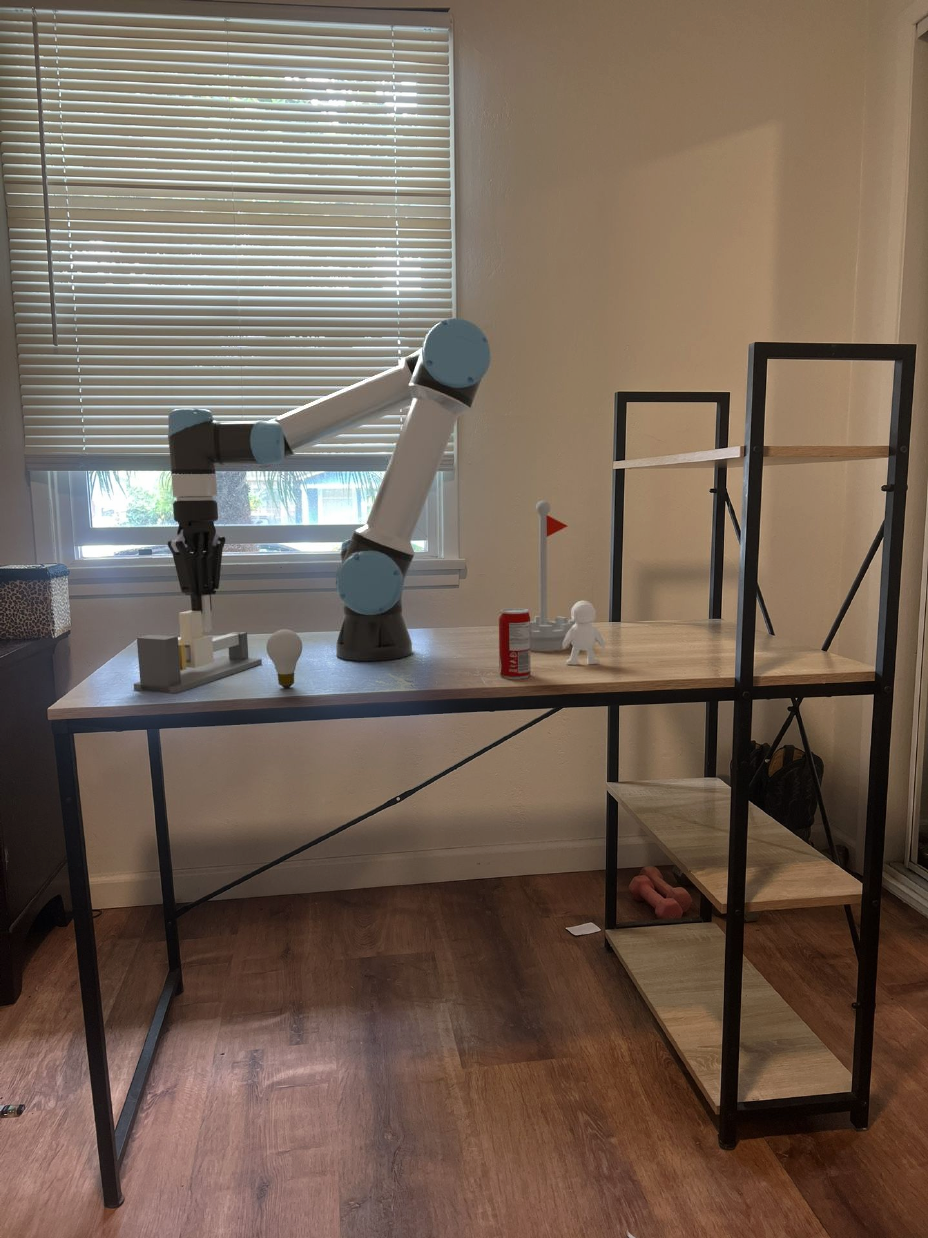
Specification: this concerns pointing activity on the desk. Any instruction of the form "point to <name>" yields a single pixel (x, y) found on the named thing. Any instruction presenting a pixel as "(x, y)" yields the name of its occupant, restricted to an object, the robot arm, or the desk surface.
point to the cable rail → (168, 662)
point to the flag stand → (541, 630)
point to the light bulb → (284, 654)
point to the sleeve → (195, 639)
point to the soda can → (514, 643)
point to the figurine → (583, 633)
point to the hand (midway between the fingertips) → (202, 630)
